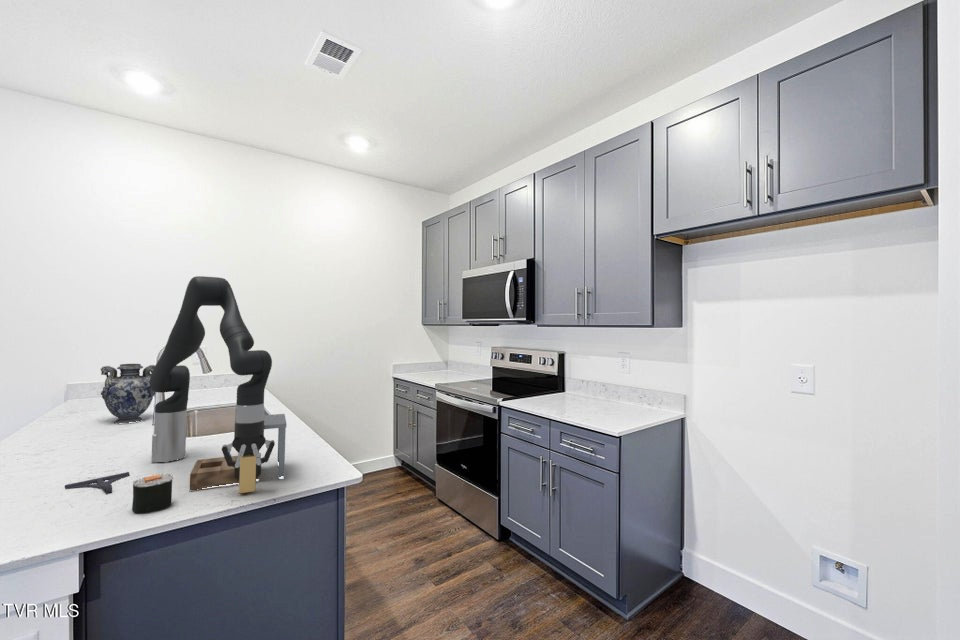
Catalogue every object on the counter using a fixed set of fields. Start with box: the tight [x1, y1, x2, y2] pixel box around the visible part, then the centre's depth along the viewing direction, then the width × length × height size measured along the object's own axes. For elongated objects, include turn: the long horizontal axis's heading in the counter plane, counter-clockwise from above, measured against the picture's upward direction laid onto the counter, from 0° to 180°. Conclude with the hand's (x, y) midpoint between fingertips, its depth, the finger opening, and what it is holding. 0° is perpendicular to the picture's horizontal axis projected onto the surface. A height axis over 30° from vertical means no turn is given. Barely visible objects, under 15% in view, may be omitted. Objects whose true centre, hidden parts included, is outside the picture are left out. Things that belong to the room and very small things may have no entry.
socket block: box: [189, 452, 262, 491], centre depth 130 cm, size 18×14×5 cm
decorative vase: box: [100, 363, 156, 424], centre depth 201 cm, size 21×19×28 cm
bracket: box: [64, 471, 130, 495], centre depth 121 cm, size 14×15×3 cm
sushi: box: [131, 473, 174, 515], centre depth 109 cm, size 8×8×8 cm
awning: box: [264, 413, 287, 477], centre depth 135 cm, size 11×16×18 cm
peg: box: [238, 454, 257, 494], centre depth 119 cm, size 4×4×10 cm
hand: (247, 478), depth 119 cm, fingers closed on peg, 4 cm apart
